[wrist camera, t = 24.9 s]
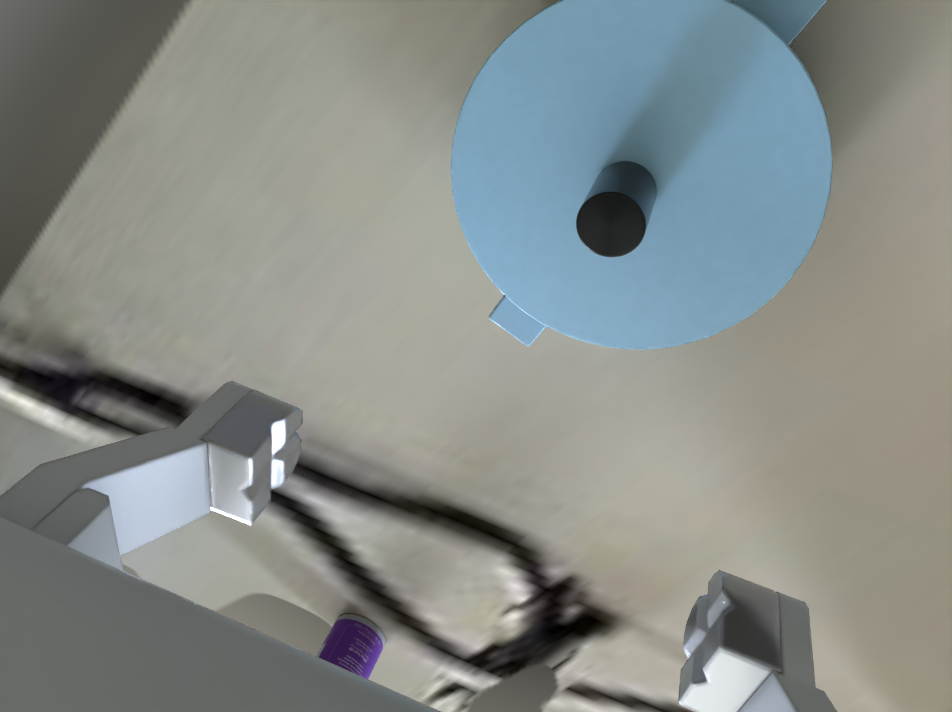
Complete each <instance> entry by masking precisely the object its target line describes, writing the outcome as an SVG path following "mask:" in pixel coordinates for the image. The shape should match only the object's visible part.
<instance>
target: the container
mask: <svg viewBox="0 0 952 712" xmlns="http://www.w3.org/2000/svg"><path fill="white" fill-rule="evenodd" d="M384 645H385V637H384V635H383V633H382V632H381V630H380V629H379V628H378V627H377V626H376V625H375V624H373V623H372V622H371V621H369V620H367V619H365V618H363V617H361V616H358V615H353V614H345V615H342V616H340V617H339V618H338V619H337V620H336V622H335V624H334V625H333V627H332V629H331V631H330V632H329V634H328V636H327V638H326V640H325V641H324V643H323V645H322V646H321V648H320V650H319V652H318V653H317V655H316V657H319V658H321V659H323V660H325V661H328V662H330V663H332V664H334V665H337V666H339V667H341V668H343V669H346V670H348V671H350V672H352V673H355V674H357V675H359V676H361V677H364V678H366V679H368V678H369V676H370V674H371V672H372V670H373V668H374V666H375V664H376V662H377V659H378V657H379V655H380V653H381V651H382V649H383V647H384Z"/></svg>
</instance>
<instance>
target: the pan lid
mask: <svg viewBox="0 0 952 712" xmlns="http://www.w3.org/2000/svg"><path fill="white" fill-rule="evenodd" d="M832 166H833V165H832V149H831V137H830V133H829V128H828V123H827V119H826V114H825V110H824V108H823V105H822V103H821V100H820V97H819V95H818V92H817V89H816V87H815V84H814V83H813V81H812V79H811V77H810V76H809V74H808V72H807V70H806V69H805V67H804V65H803V63H802V62H801V60H800V59H799V58H798V56H797V55H796V54H795V53H794V51H793V50H792V49H791V48H790V47H789V45H788V44H787V43H786V42H785V40H784V39H783V38H782V37H781V36H780V35H779V34H777V33H776V32H775V31H774V30H773V29H772V28H771V27H770V26H769V25H768V24H766V23H765V22H764V21H763V20H762V19H760V18H759V17H757V16H756V15H754V14H753V13H751V12H750V11H748V10H747V9H745V8H744V7H742V6H741V5H739V4H737V3H735V2H733V1H731V0H560V1H558V2H556V3H554V4H552V5H550V6H548V7H546V8H545V9H543V10H542V11H540V12H539V13H537V14H536V15H534V16H533V17H531V18H530V19H528V20H527V21H525V22H524V23H523V24H522V25H520V26H519V27H518V28H517V29H516V30H515V31H514V32H512V33H511V34H510V35H509V36H508V37H507V38H506V39H505V40H504V41H503V42H502V43H501V44H500V45H499V46H498V48H497V49H496V50H495V51H494V52H493V53H492V55H491V56H490V57H489V58H488V59H487V61H486V62H485V64H484V65H483V67H482V68H481V70H480V72H479V73H478V75H477V76H476V78H475V79H474V81H473V83H472V85H471V87H470V90H469V92H468V94H467V96H466V98H465V100H464V103H463V106H462V109H461V112H460V115H459V118H458V121H457V124H456V129H455V135H454V140H453V145H452V160H451V176H452V191H453V196H454V201H455V207H456V212H457V215H458V218H459V221H460V224H461V227H462V231H463V233H464V235H465V238H466V240H467V242H468V244H469V246H470V248H471V251H472V252H473V254H474V256H475V257H476V259H477V261H478V262H479V264H480V266H481V267H482V269H483V270H484V271H485V273H486V274H487V275H488V277H489V278H490V279H491V280H492V282H493V283H494V284H495V286H496V287H497V288H498V289H499V290H500V291H501V292H502V293H503V294H504V295H505V296H506V297H507V298H508V299H509V300H510V301H512V302H513V303H514V304H515V305H516V306H518V307H519V308H520V309H521V310H523V311H524V312H525V313H526V314H528V315H529V316H531V317H533V318H534V319H536V320H537V321H539V322H540V323H542V324H544V325H546V326H548V327H550V328H552V329H554V330H556V331H558V332H560V333H562V334H564V335H567V336H570V337H572V338H575V339H578V340H581V341H584V342H588V343H592V344H596V345H600V346H606V347H613V348H621V349H655V348H667V347H672V346H677V345H682V344H687V343H691V342H694V341H697V340H700V339H703V338H706V337H709V336H712V335H714V334H716V333H719V332H721V331H723V330H725V329H727V328H730V327H732V326H733V325H735V324H737V323H738V322H740V321H742V320H743V319H745V318H746V317H748V316H750V315H751V314H753V313H754V312H755V311H757V310H758V309H759V308H760V307H762V306H763V305H764V304H765V303H767V302H768V301H769V300H770V299H772V297H773V296H774V295H775V294H776V293H777V292H778V291H779V290H780V289H781V288H782V287H783V286H784V285H785V284H786V283H787V282H788V281H789V280H790V278H791V277H792V276H793V274H794V273H795V272H796V270H797V269H798V268H799V266H800V265H801V264H802V262H803V261H804V259H805V257H806V255H807V254H808V252H809V250H810V248H811V247H812V245H813V243H814V241H815V239H816V236H817V234H818V231H819V229H820V226H821V224H822V221H823V219H824V216H825V211H826V207H827V203H828V199H829V195H830V188H831V177H832Z"/></svg>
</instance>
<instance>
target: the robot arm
mask: <svg viewBox="0 0 952 712" xmlns="http://www.w3.org/2000/svg"><path fill="white" fill-rule="evenodd" d="M302 421H303V411H302V410H300V409H299V408H297V407H295V406H292V405H290V404H288V403H285V402H283V401H280V400H278V399H276V398H273V397H271V396H268V395H266V394H264V393H261V392H259V391H256V390H253V389H250V388H248V387H246V386H243V385H241V384H238V383H236V382H234V381H231V382H228V383H225V384H224V385H223V386H221V387H220V388H219V389H218V390H217V391H216V392H215V393H214V394H213V395H212V396H211V397H210V398H208V399H207V400H206V401H205V402H204V403H203V404H202V405H201V406H200V407H199V408H198V409H197V410H195V411H194V412H193V413H192V414H191V415H190V416H189V417H188V418H187V419H186V420H185V421H184V422H183V423H181V424H180V425H179V426H178V427H177V428H176V429H172V428H170V427H167V428H163V429H160V430H156V431H153V432H150V433H146V434H143V435H139V436H136V437H132V438H129V439H125V440H122V441H119V442H115V443H112V444H108V445H105V446H101V447H98V448H95V449H91V450H88V451H84V452H81V453H77V454H74V455H71V456H67V457H64V458H60V459H57V460H53V461H50V462H46V463H43V464H40V465H39V466H37V467H36V468H35V469H34V470H32V471H31V472H30V473H29V474H27V475H26V476H25V477H24V478H22V479H21V480H20V481H19V482H17V483H16V484H15V485H14V486H12V487H11V488H10V489H9V490H7V491H6V492H5V493H4V494H2V495H1V496H0V712H440V711H438V710H436V709H434V708H431V707H429V706H427V705H425V704H422V703H420V702H418V701H416V700H413V699H411V698H409V697H407V696H404V695H402V694H400V693H398V692H395V691H393V690H391V689H388V688H386V687H384V686H382V685H379V684H377V683H375V682H373V681H370V680H368V679H366V678H364V677H361V676H359V675H357V674H355V673H352V672H350V671H348V670H346V669H343V668H341V667H339V666H337V665H334V664H332V663H330V662H328V661H325V660H323V659H321V658H319V657H316V656H314V655H312V654H309V653H307V652H305V651H303V650H300V649H298V648H296V647H294V646H291V645H289V644H287V643H285V642H282V641H280V640H278V639H275V638H273V637H271V636H269V635H267V634H264V633H262V632H260V631H258V630H255V629H253V628H251V627H248V626H246V625H244V624H242V623H240V622H237V621H235V620H233V619H231V618H228V617H226V616H224V615H221V614H219V613H217V612H215V611H212V610H210V609H208V608H206V607H203V606H201V605H199V604H197V603H194V602H192V601H190V600H188V599H185V598H183V597H181V596H179V595H176V594H174V593H172V592H170V591H167V590H165V589H163V588H161V587H158V586H156V585H154V584H151V583H149V582H147V581H145V580H142V579H140V578H138V577H136V576H133V575H131V574H128V573H127V572H124V571H123V568H122V562H121V557H120V556H122V555H124V554H126V553H128V552H130V551H132V550H134V549H136V548H138V547H140V546H142V545H145V544H147V543H149V542H151V541H153V540H155V539H157V538H159V537H161V536H163V535H165V534H167V533H169V532H171V531H173V530H175V529H177V528H179V527H182V526H184V525H186V524H188V523H190V522H192V521H194V520H196V519H198V518H200V517H202V516H204V515H206V514H208V513H210V512H211V510H213V511H215V512H218V513H220V514H223V515H226V516H228V517H231V518H233V519H236V520H239V521H241V522H244V523H246V524H249V525H252V523H253V522H254V521H255V520H256V518H257V517H258V516H259V515H260V513H261V512H262V511H263V510H264V508H265V507H266V506H267V505H268V503H269V502H270V501H271V489H273V488H276V487H279V486H281V485H283V484H284V483H285V482H286V481H287V479H288V478H289V477H290V475H291V474H292V472H293V470H294V468H295V466H296V464H297V462H298V459H299V455H300V451H301V441H302V440H301V439H300V437H299V435H298V434H297V432H296V431H297V430H298V429H299V427H300V426H301V425H302ZM683 648H684V650H685V652H686V654H687V656H688V660H687V661H686V663H685V664H684V666H683V667H682V669H681V675H680V687H679V699H678V704H679V705H681V706H683V707H686V708H688V709H690V710H692V711H695V712H837V711H836V709H835V708H834V706H833V704H832V703H831V701H830V700H829V698H828V697H827V695H826V693H825V692H824V691H822V690H819V689H817V688H816V687H815V676H814V664H813V652H812V641H811V629H810V618H809V608H808V606H807V605H806V603H805V602H803V601H800V600H797V599H795V598H792V597H789V596H787V595H784V594H781V593H779V592H774V591H773V590H771V589H769V588H766V587H763V586H761V585H758V584H755V583H753V582H750V581H747V580H744V579H742V578H739V577H736V576H734V575H731V574H728V573H726V572H723V571H720V570H719V571H717V572H716V573H715V574H714V575H713V576H712V578H711V579H710V581H709V584H708V594H707V595H704V596H700V597H699V598H698V599H697V601H696V603H695V604H694V606H693V608H692V610H691V613H690V615H689V618H688V621H687V624H686V629H685V634H684V642H683Z"/></svg>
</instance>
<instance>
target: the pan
mask: <svg viewBox="0 0 952 712" xmlns="http://www.w3.org/2000/svg"><path fill="white" fill-rule="evenodd" d="M731 1H733V2H735V3H737V4H739V5H741V6H742V7H744V8H745V9H747V10H748V11H750V12H751V13H753V14H754V15H756V16H757V17H759V18H760V19H762V20H763V21H764V22H765V23H766V24H768V25H769V26H770V27H771V28H772V29H773V30H774V31H775V32H776V33H777V34H779V35H780V36H781V37H782V38H783V39H784V40H785V42H786V43H787V44H788V45H789V47H790V48H791V46H790V43H791V42H792V41H793V40H794V38H795V37H796V36H797V35H798V34H799V33H800V31H801V30H802V29H803V28H804V27H805V26H806V24H807V23H808V22H809V21H810V20H811V19H812V17H813V16H814V15H815V14H816V13H817V12H818V10H819V9H820V8H821V7H822V6H823V5H824V4H825V2H826V1H827V0H731ZM791 49H792V48H791ZM489 319H490V320H492V321H493V322H494V323H496V324H497V325H498V326H500V327H501V328H503V329H504V330H505V331H507V332H508V333H510V334H511V335H512V336H514V337H515V338H516V339H518V340H519V341H521V342H522V343H523V344H525V345H526V346H530V345H531V343H532V342H533V341H534V340H535V339H536V338H537V336H538V335H539V334H540V333H541V332H542V331H543V330H544V328H545V327H546V325H544V324H542V323H540V322H539V321H537V320H536V319H534V318H533V317H531V316H529V315H528V314H526V313H525V312H524V311H523V310H521V309H520V308H519V307H518V306H516V305H515V304H514V303H513V302H512V301H510V300H509V299H508V298H507V297H506V296H505V295H504V296H503V297H502V299H501V300H500V301H499V303H498V304H497V305H496V306H495V308H494V309H493V311H492V312H491V314H490V316H489Z"/></svg>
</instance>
